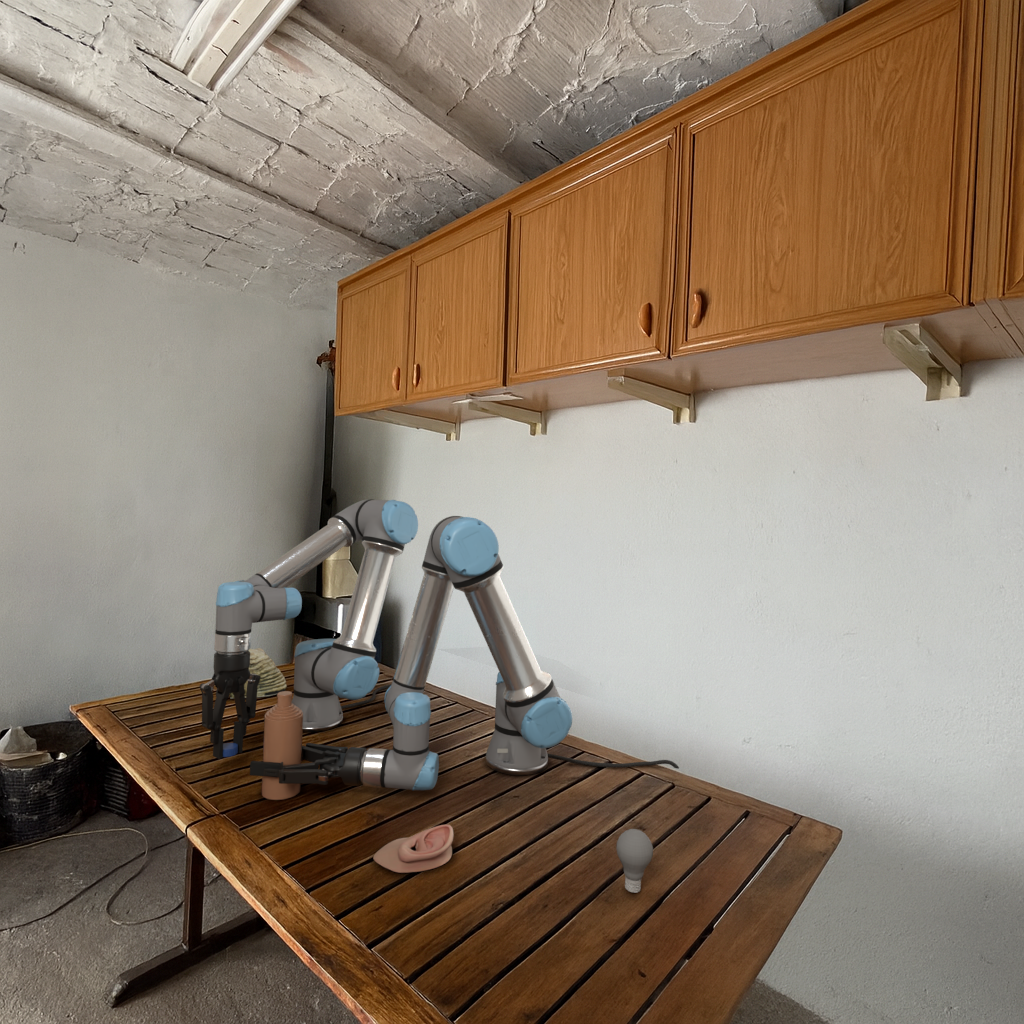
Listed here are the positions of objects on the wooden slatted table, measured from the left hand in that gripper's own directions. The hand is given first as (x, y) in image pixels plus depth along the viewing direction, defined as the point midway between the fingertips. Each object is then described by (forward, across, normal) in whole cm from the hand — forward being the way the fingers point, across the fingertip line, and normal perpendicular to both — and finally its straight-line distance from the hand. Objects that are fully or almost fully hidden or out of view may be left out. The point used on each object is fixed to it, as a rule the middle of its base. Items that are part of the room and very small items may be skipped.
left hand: (227, 753), depth 143 cm
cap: (-1, 0, 0) cm, 1 cm away
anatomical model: (+4, +4, -56) cm, 56 cm away
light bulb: (+4, +20, -91) cm, 93 cm away
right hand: (-2, 0, -13) cm, 13 cm away
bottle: (+4, +3, -17) cm, 18 cm away
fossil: (+4, +34, +46) cm, 57 cm away
